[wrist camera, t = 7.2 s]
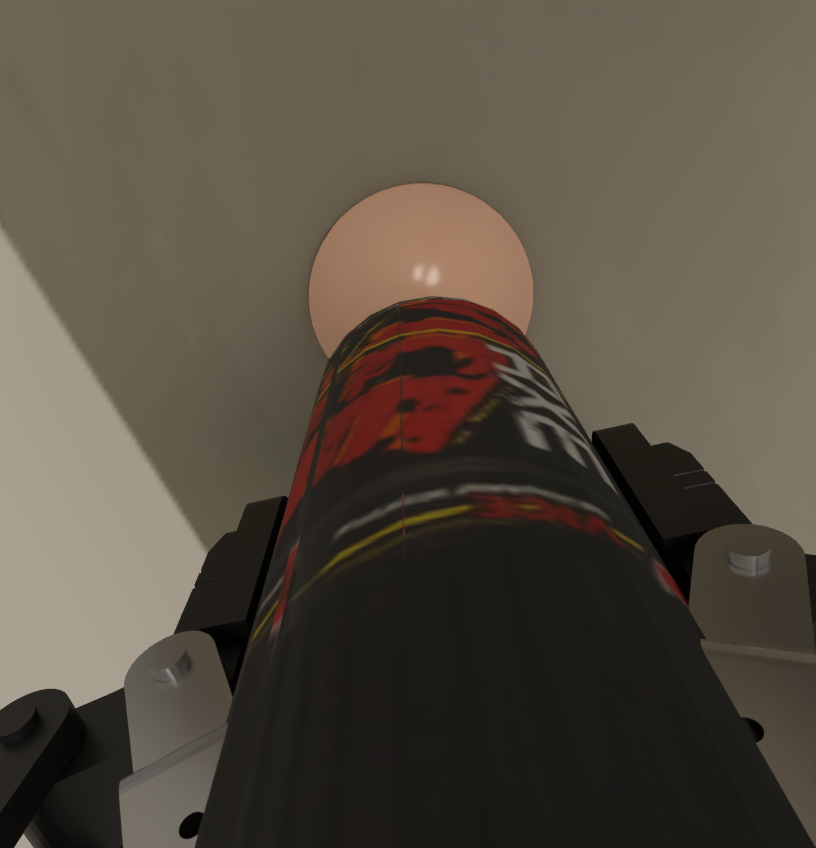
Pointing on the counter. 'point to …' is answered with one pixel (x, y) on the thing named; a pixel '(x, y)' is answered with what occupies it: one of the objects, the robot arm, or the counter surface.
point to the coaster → (416, 259)
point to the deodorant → (474, 628)
